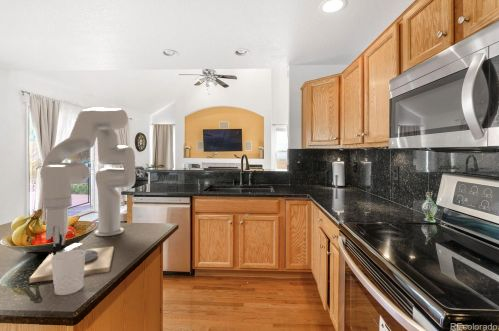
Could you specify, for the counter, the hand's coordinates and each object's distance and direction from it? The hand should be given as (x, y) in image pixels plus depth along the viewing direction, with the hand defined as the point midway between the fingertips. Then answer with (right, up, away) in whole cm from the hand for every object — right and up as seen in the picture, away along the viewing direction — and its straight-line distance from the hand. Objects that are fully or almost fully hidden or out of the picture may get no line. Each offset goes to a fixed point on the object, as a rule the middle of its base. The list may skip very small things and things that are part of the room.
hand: (59, 256), depth 88 cm
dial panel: (+4, -4, +4) cm, 7 cm away
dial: (+4, -2, +3) cm, 5 cm away
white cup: (+12, -5, -13) cm, 19 cm away
